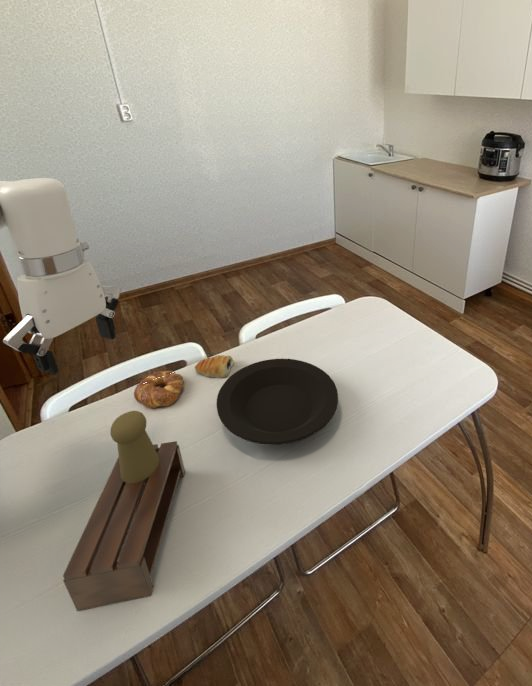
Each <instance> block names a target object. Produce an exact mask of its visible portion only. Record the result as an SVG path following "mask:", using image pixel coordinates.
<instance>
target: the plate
mask: <svg viewBox="0 0 532 686" xmlns="http://www.w3.org/2000/svg"><path fill="white" fill-rule="evenodd" d="M338 404H339V393H338V388H337V386H336V383H335V381H334V380H333V379H332V377H331V376H330V375H329V374H328V373H327V372H326V371H324V369H322V368H320V367H318V366H317V365H314V364H312V363H309V362H307V361H303V360H299V359H294V358H270V359H264V360H261V361H257V362H253V363H251V364H249V365H246V366H244V367H242V368H240V369H239V370H236V372H234V373H232V374H231V375H230V376H229V377H227V379H226V380H225V382H224V383H223V384H222V386H221V387H220V389H219V390H218V393H217V397H216V412H217V415H218V418H219V420H220V422H221V423H222V425H223V426H224V427H225V428H226V430H228V431H229V432H230V433H231V434H233V435H234V436H236V437H238V438H240V439H242V440H245V441H247V442H250V443H253V444H259V445H268V446H269V445H272V446H276V445H286V444H292V443H295V442H299V441H303V440H306V439H307V438H310V437H312V436H313V435H315V434H317V433H318V432H320V431H321V430H322V429H324V428H325V427H326V426H327V425H328V424H329V422H330V421H332V419H333V417H334V416H335V414H336V411H337V409H338V406H339V405H338Z"/></svg>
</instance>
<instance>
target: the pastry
mask: <svg viewBox="0 0 532 686" xmlns="http://www.w3.org/2000/svg"><path fill="white" fill-rule="evenodd" d="M233 365H234V359H233V357H232V356H231V355H223V354H221V355H220V354H218V356H217V355H215V356H211V357H207V358H204V359H201V360H199V361H198V362H197V363H196V364H195V366H194V370H195V371H196V373H197V374H199V375H202V374H203V375H202V376H205V377H206V378H214V377H215V378H218V379H222V378H225V377H228V376H229V374H230V371H231V368H232V367H233Z"/></svg>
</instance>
